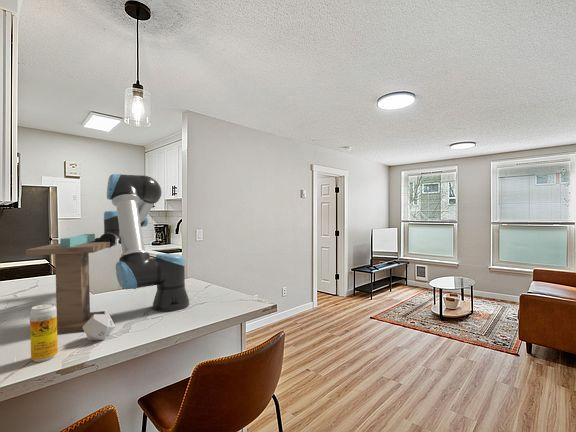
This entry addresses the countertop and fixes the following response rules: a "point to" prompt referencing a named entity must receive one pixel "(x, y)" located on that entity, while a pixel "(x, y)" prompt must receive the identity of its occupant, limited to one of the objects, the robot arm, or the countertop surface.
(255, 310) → the countertop surface
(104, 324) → the die
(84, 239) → the teal bar
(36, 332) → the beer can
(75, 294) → the walnut pedestal
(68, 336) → the countertop surface
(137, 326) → the countertop surface
